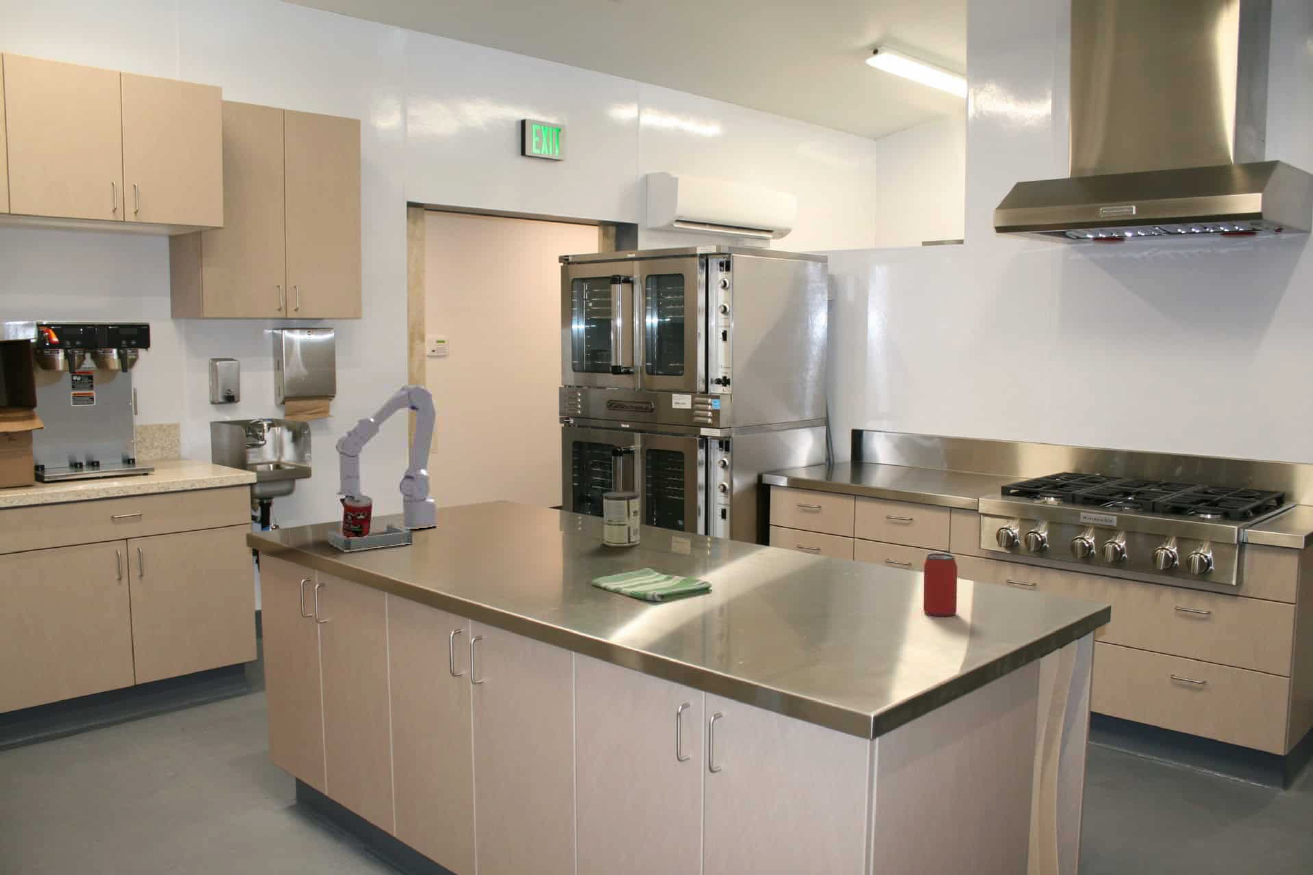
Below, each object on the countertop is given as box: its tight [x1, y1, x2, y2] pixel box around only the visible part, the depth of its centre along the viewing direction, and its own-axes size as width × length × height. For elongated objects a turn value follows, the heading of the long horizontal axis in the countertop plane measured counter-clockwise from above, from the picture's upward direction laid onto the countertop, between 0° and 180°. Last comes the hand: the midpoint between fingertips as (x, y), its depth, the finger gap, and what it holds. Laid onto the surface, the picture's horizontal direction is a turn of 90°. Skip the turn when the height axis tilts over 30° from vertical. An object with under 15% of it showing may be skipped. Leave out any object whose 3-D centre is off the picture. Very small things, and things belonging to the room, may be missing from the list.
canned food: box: [341, 494, 373, 537], centre depth 296 cm, size 8×8×11 cm
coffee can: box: [602, 490, 641, 547], centre depth 285 cm, size 10×10×14 cm
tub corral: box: [326, 523, 413, 550], centre depth 288 cm, size 19×16×4 cm
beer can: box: [923, 552, 958, 618], centre depth 208 cm, size 7×7×12 cm
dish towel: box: [590, 567, 713, 603], centre depth 233 cm, size 18×23×3 cm
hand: (351, 521), depth 301 cm, fingers closed
